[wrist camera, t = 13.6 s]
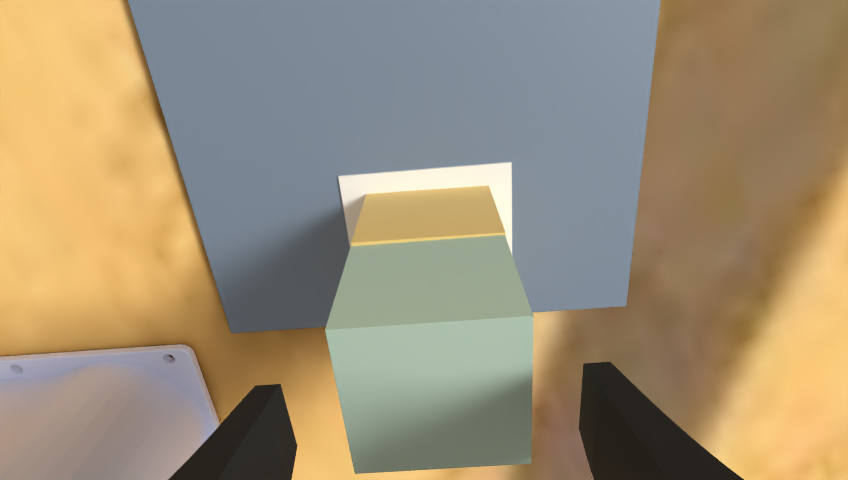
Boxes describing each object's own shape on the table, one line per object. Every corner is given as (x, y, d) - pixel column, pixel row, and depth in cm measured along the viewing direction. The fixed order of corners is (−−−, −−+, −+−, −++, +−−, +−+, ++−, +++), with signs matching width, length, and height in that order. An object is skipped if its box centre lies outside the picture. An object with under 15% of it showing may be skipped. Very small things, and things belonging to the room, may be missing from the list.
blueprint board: (234, 327, 22) (230, 334, 21) (88, -149, 14) (78, -154, 14) (622, 300, 21) (626, 307, 20) (678, -212, 14) (686, -220, 13)
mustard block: (380, 297, 20) (370, 364, 17) (366, 194, 18) (350, 243, 15) (490, 290, 20) (505, 356, 16) (488, 185, 18) (505, 232, 14)
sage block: (370, 366, 17) (354, 473, 13) (350, 246, 15) (324, 330, 11) (506, 358, 16) (530, 463, 13) (505, 234, 14) (533, 315, 11)
